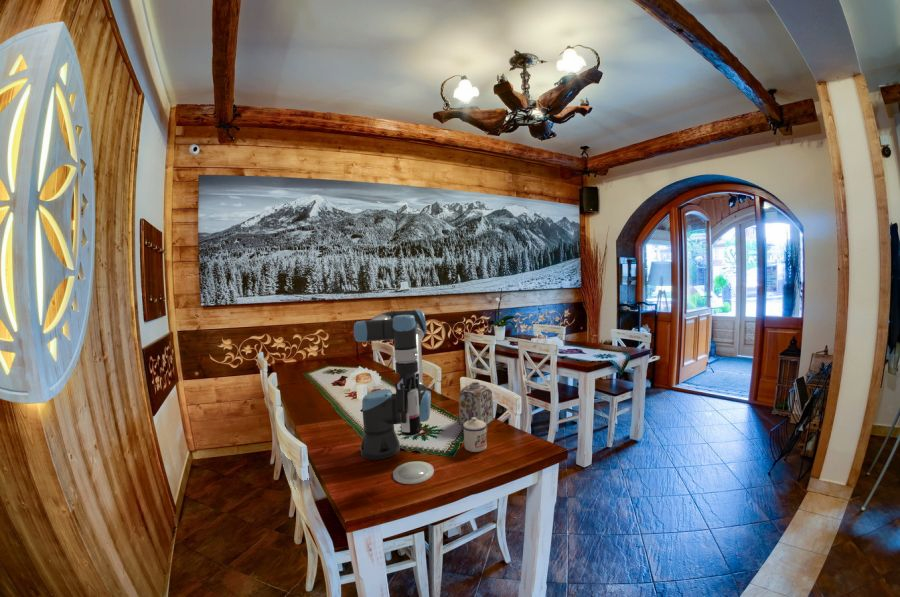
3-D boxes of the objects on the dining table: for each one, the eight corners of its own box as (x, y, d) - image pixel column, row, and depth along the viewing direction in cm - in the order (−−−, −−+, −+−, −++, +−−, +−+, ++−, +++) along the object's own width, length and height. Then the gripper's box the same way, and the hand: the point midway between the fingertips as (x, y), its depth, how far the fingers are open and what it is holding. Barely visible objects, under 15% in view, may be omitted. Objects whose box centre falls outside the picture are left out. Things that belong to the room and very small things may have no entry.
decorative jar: (473, 415, 179) (471, 378, 178) (494, 420, 172) (492, 381, 171) (458, 424, 169) (456, 385, 168) (481, 429, 162) (478, 388, 161)
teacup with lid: (477, 454, 139) (476, 424, 138) (459, 448, 145) (457, 419, 144) (496, 443, 148) (494, 414, 147) (478, 437, 154) (476, 409, 153)
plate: (385, 480, 124) (385, 478, 124) (404, 460, 137) (404, 459, 137) (423, 486, 119) (423, 484, 119) (439, 465, 133) (439, 463, 133)
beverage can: (404, 438, 123) (401, 393, 123) (399, 431, 129) (396, 389, 129) (423, 434, 126) (420, 390, 125) (417, 427, 132) (414, 385, 131)
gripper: (403, 368, 116) (407, 440, 117) (428, 354, 134) (431, 417, 135) (382, 367, 118) (386, 438, 120) (409, 354, 137) (413, 416, 138)
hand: (410, 427), depth 128 cm, fingers closed on beverage can, 6 cm apart
